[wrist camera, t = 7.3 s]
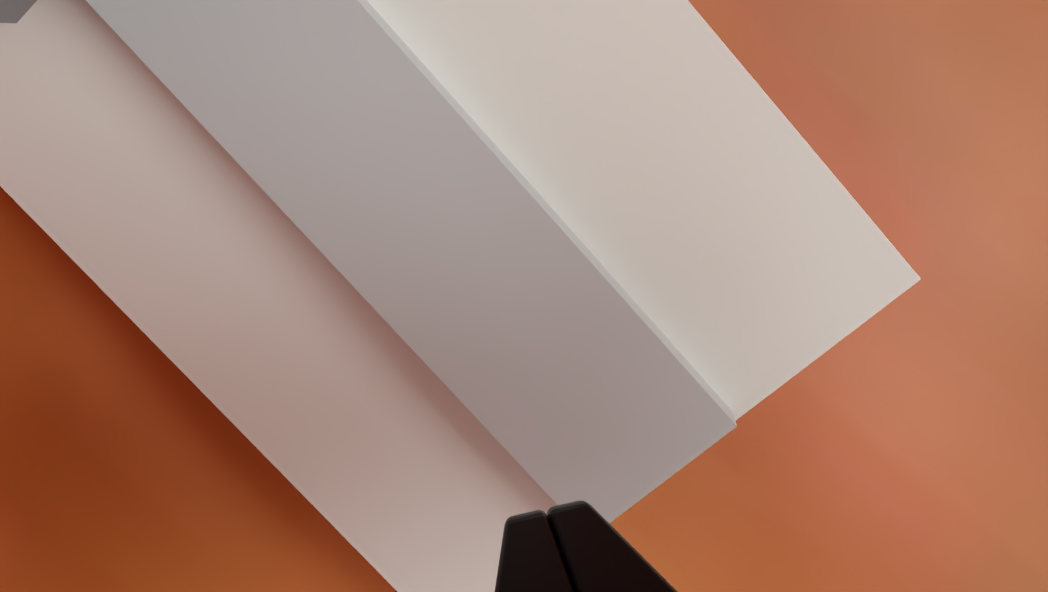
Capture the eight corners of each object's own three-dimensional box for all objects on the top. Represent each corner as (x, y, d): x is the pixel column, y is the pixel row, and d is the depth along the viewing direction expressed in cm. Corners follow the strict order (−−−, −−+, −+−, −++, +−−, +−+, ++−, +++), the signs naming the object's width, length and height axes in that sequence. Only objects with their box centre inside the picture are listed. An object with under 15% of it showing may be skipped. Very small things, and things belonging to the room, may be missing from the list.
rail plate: (905, 266, 19) (957, 307, 16) (453, 614, 22) (428, 703, 19) (162, -620, 16) (64, -763, 13) (-239, -97, 19) (-392, -122, 16)
